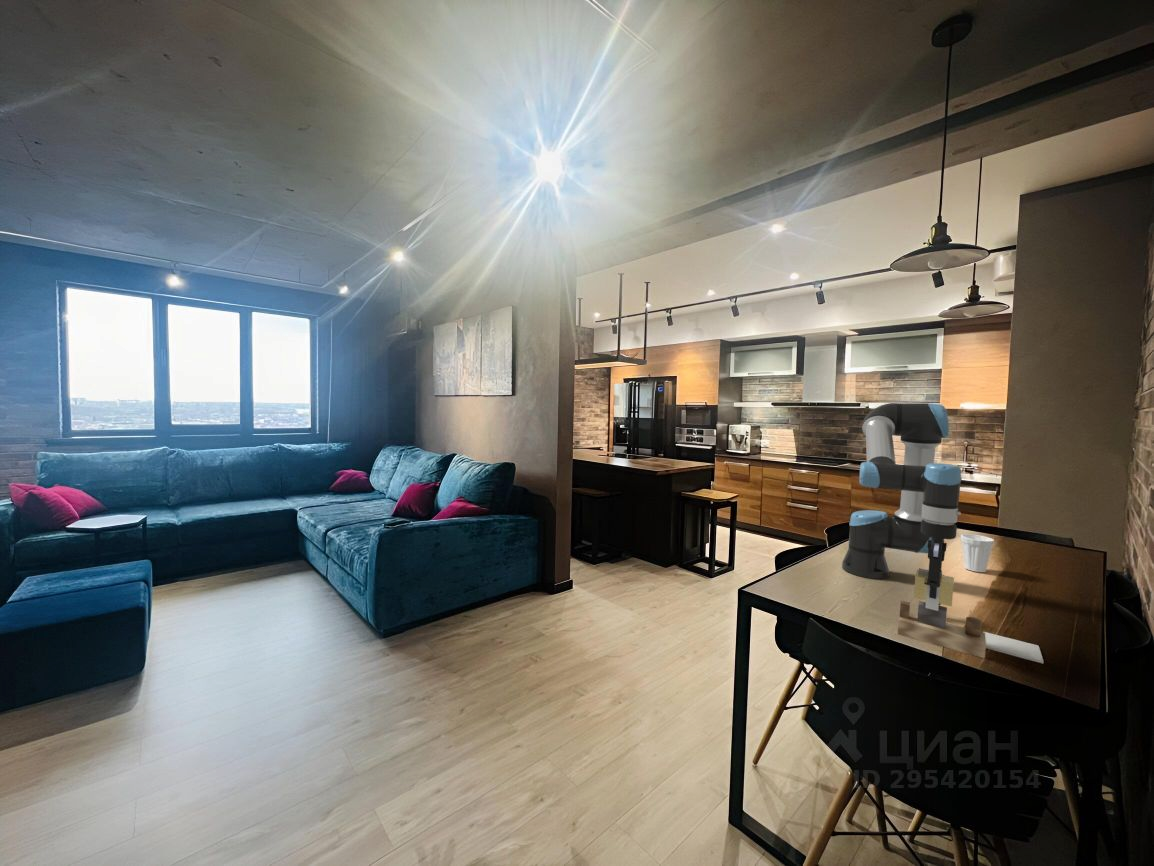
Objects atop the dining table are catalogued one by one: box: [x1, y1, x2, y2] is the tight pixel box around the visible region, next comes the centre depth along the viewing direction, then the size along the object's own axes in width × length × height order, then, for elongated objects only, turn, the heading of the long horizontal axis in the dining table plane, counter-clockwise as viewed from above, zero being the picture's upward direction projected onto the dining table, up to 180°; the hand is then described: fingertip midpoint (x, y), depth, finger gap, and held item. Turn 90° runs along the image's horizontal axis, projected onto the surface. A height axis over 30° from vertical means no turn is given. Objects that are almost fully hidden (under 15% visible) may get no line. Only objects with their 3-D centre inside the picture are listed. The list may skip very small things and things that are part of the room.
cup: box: [960, 533, 995, 573], centre depth 178 cm, size 10×10×13 cm
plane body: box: [897, 600, 987, 659], centre depth 123 cm, size 18×7×9 cm, turn 50°
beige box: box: [913, 567, 955, 607], centre depth 124 cm, size 8×6×7 cm
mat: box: [983, 631, 1044, 664], centre depth 120 cm, size 11×10×1 cm
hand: (932, 604), depth 124 cm, fingers closed on beige box, 6 cm apart
